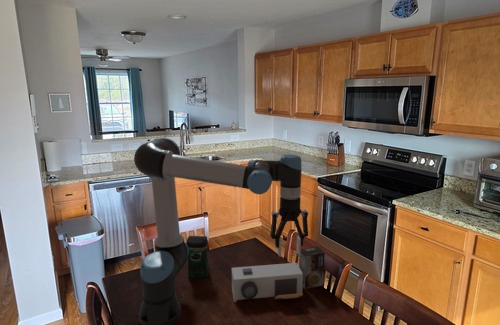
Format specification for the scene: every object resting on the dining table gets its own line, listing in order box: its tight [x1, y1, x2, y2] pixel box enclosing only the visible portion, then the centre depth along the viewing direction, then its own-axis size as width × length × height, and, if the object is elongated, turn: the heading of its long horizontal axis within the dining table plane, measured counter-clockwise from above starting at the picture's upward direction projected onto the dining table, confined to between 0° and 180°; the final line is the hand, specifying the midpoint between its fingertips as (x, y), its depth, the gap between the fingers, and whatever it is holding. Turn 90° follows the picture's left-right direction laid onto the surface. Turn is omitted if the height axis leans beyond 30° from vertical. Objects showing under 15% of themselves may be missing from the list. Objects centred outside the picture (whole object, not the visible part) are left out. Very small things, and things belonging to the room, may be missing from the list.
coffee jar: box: [185, 235, 210, 279], centre depth 150 cm, size 10×8×19 cm
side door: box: [274, 292, 304, 300], centre depth 130 cm, size 10×1×8 cm
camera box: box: [231, 262, 303, 303], centre depth 136 cm, size 28×11×11 cm, turn 99°
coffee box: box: [298, 245, 325, 290], centre depth 142 cm, size 9×6×16 cm
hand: (288, 254), depth 127 cm, fingers open, 7 cm apart
